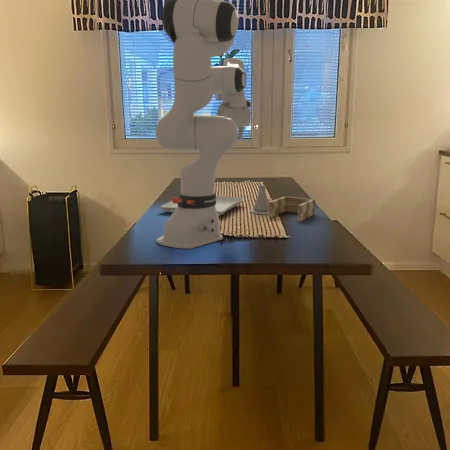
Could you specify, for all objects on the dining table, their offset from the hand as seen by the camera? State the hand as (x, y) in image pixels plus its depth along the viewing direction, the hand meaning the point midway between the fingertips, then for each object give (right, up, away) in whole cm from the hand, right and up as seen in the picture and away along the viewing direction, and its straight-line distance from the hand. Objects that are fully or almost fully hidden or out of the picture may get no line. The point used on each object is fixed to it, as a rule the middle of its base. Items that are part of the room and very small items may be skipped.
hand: (233, 139), depth 183 cm
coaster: (+12, -29, +6) cm, 31 cm away
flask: (+12, -28, +6) cm, 31 cm away
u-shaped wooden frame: (+23, -30, -1) cm, 38 cm away
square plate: (-12, -28, +10) cm, 32 cm away
